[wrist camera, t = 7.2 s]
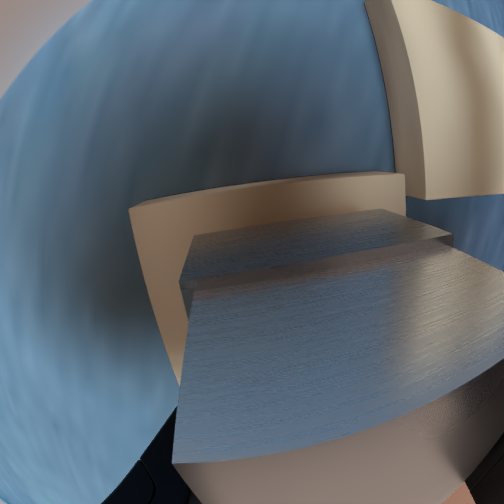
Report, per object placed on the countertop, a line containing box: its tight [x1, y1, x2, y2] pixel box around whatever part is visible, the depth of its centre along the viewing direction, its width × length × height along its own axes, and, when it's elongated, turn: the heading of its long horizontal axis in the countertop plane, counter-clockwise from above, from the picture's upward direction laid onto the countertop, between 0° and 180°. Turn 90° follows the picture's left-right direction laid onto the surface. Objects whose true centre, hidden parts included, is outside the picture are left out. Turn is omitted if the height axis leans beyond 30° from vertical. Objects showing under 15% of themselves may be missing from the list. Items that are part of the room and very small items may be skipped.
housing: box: [172, 209, 504, 504], centre depth 6 cm, size 5×7×6 cm
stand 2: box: [364, 0, 504, 200], centre depth 9 cm, size 9×9×2 cm
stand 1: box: [128, 171, 406, 386], centre depth 11 cm, size 9×9×2 cm
